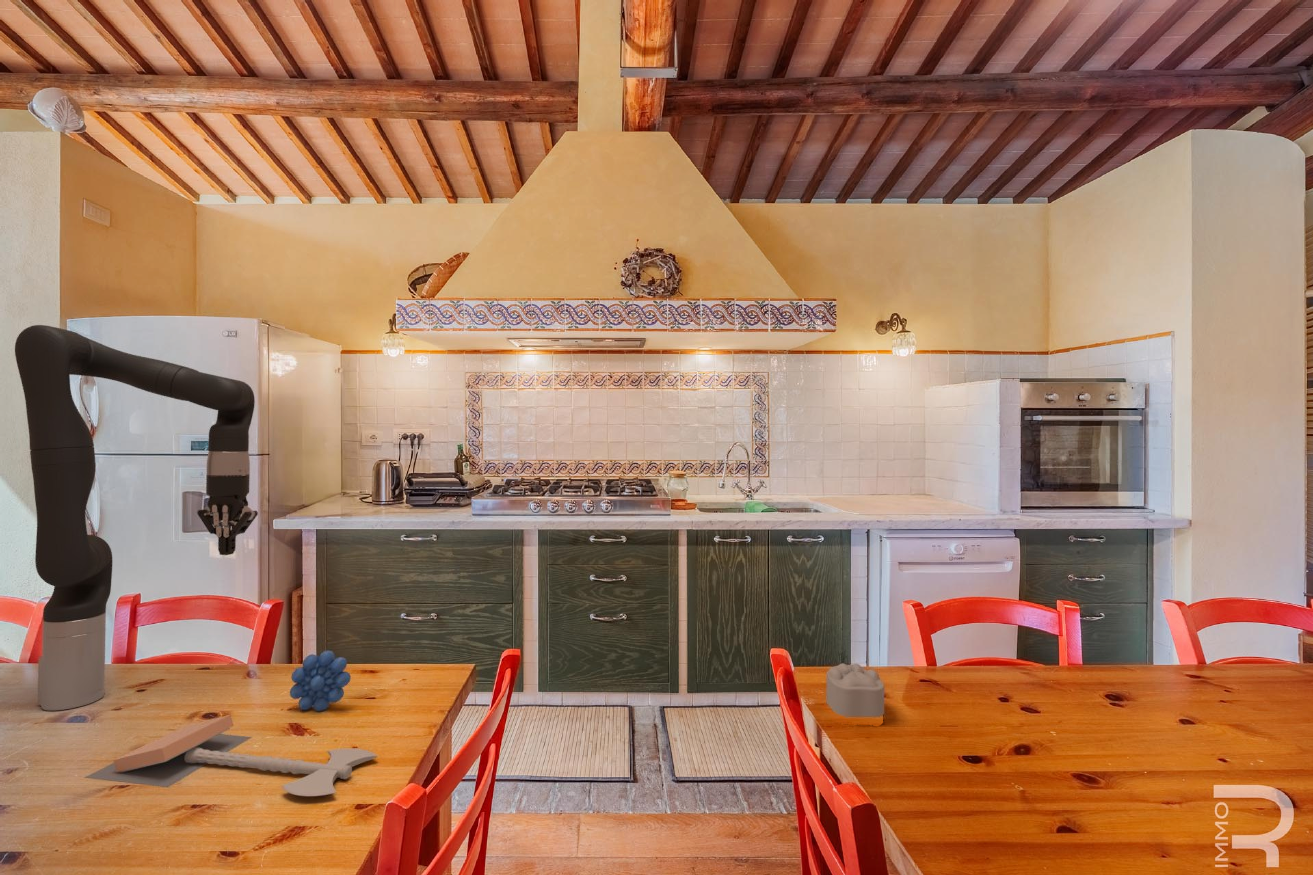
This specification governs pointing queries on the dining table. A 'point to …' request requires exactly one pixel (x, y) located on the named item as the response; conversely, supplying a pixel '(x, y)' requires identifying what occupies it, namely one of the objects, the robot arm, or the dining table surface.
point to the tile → (173, 744)
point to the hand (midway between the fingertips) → (226, 554)
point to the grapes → (320, 681)
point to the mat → (168, 765)
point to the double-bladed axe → (291, 767)
